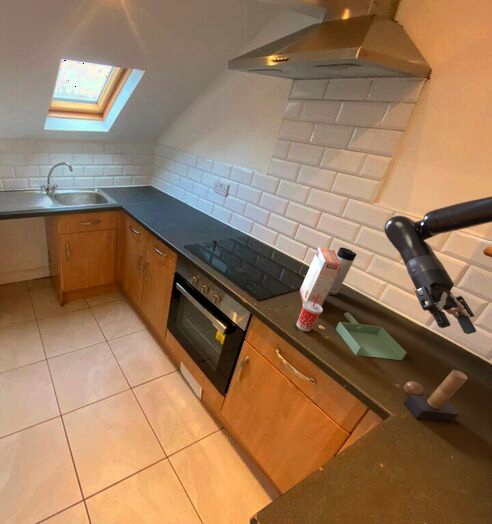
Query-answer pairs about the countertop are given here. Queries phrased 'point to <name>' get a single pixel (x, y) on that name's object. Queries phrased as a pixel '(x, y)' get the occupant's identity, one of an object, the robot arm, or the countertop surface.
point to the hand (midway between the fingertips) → (458, 329)
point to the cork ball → (413, 388)
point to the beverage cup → (309, 315)
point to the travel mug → (342, 268)
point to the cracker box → (320, 276)
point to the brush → (437, 400)
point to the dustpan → (369, 340)
